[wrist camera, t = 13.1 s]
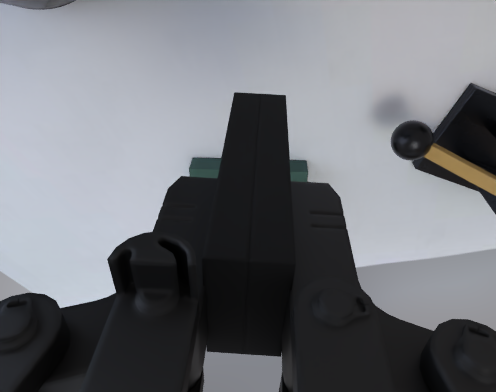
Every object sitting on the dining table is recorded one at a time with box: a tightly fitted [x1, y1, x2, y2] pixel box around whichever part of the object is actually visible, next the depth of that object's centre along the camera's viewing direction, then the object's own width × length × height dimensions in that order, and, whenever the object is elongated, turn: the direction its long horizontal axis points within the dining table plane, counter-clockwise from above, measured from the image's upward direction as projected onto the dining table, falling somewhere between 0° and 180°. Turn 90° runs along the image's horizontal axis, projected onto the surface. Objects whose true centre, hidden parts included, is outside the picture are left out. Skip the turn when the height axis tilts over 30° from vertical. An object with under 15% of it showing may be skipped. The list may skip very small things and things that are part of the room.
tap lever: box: [391, 120, 496, 196], centre depth 31 cm, size 15×3×3 cm, turn 70°
